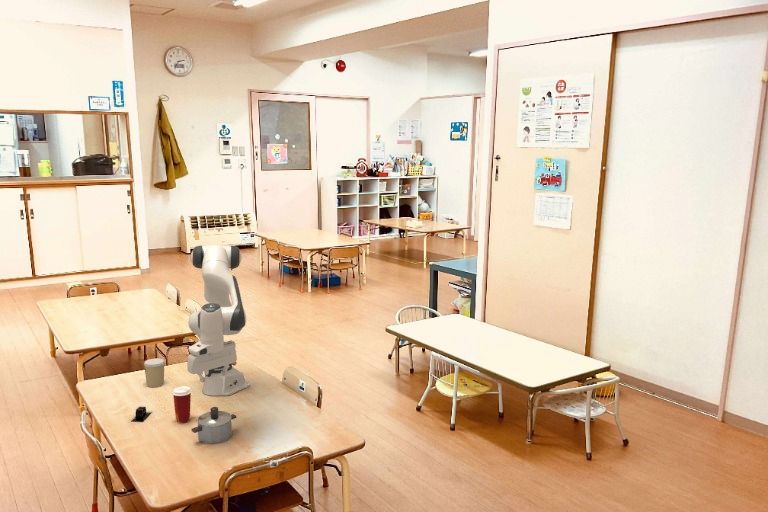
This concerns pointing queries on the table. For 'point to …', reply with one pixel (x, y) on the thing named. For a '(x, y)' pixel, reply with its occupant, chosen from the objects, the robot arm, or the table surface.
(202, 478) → the table surface
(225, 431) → the pot
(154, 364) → the coffee cup
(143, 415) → the black stepped block
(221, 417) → the lid
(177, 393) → the paper cup
